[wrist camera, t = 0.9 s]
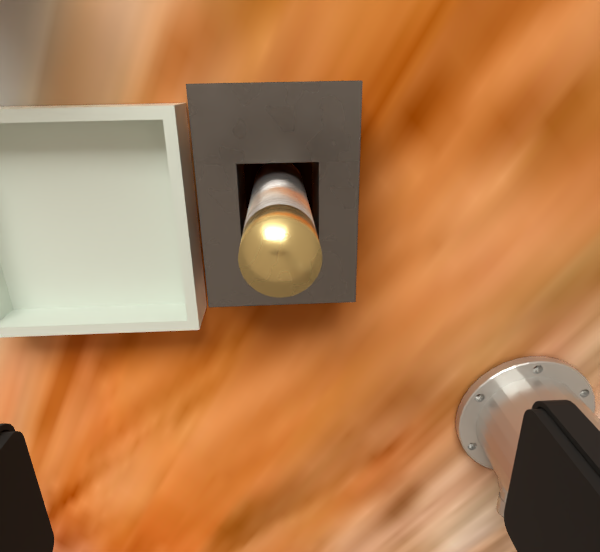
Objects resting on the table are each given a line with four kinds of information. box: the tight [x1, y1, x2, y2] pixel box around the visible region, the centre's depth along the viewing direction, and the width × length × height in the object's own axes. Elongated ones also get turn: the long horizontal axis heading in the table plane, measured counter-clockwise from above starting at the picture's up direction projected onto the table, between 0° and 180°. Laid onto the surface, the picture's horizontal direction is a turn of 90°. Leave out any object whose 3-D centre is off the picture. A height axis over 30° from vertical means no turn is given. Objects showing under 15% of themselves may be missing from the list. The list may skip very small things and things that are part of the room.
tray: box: [0, 103, 207, 337], centre depth 33 cm, size 16×16×4 cm
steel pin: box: [238, 163, 322, 298], centre depth 27 cm, size 4×4×16 cm
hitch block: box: [186, 81, 362, 307], centre depth 32 cm, size 14×10×6 cm
